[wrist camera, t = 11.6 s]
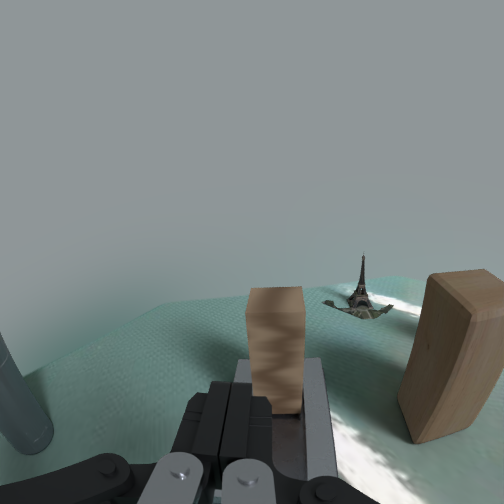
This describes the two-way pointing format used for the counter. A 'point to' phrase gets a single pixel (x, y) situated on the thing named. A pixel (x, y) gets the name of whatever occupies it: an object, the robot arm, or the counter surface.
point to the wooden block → (453, 353)
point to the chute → (300, 429)
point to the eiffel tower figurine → (361, 301)
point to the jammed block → (277, 346)
